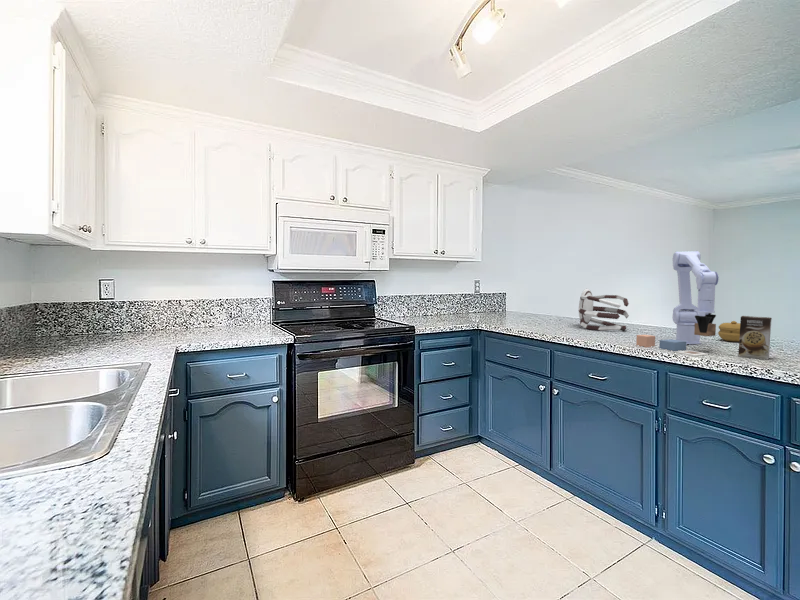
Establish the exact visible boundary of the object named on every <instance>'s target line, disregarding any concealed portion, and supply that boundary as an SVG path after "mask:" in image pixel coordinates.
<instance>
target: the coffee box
mask: <svg viewBox="0 0 800 600" xmlns="http://www.w3.org/2000/svg"><path fill="white" fill-rule="evenodd" d="M772 320H773V319H772V317H769V316H767V317H764V316H749V315H741V316H740V337H739V342H738V353H737V355H738V357H742V358H749V359H758V360H769V359H770V348H771V347H770V346H771V345H770V344H771V333H772V332H771V331H772V330H771V328H772Z"/></svg>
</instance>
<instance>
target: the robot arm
mask: <svg viewBox="0 0 800 600" xmlns="http://www.w3.org/2000/svg"><path fill="white" fill-rule="evenodd" d="M672 269H673V270H675V271H676V273H677V284H678V285H677V286H678V297H679V298H678V299H679V304H678V305H676V306H675V307H673V310H672V321H673V324H675V325H676V332H675V335H676V337H675V340H679V341H686V345H687V344H689V345H699V344H702V342H701V338H700V337H701V335H694V330H695V323H698V326H699V331H700V333H706V332H707V329H708V324H709V323H712V324H713V322H714V320H715V318H716V317H717V315H716V314H715V313H716V310H715V303H716V301H715V298H716V286H717V285H718V284H719V280H720V279H719V274H718V272H717V271H712V270H711V269H710V268H709V266H707V264H705V262H701V252H700V251H699V250H693V251H691V250H690V251H688V250H687V251H675V252H674V253H673V255H672ZM690 272H692V274H693V275H694V276H695V283H696V290H697V306H696V305H694V304H693V301H692V299H693V298H692V289H691V287H692V285H691V273H690Z"/></svg>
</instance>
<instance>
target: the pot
mask: <svg viewBox="0 0 800 600" xmlns="http://www.w3.org/2000/svg"><path fill="white" fill-rule="evenodd" d="M718 329H719V330H718V332H717V334H718V336H719V337H720V339H721V340H723V341H726V342H731V343H732V342H733V343H735V342H737V343H739V337H740V323H739V322H737V321H736V320H733V321H732V320H731V321H730V322H723V323H720V324H719V325H718Z"/></svg>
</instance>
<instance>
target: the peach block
mask: <svg viewBox="0 0 800 600" xmlns="http://www.w3.org/2000/svg"><path fill="white" fill-rule="evenodd" d="M635 342H636V344H635V345H639V346H638V347H641V346H644V347H643V348H652V347H651V346H655V347H656V335H652V334H637V335H636V341H635Z"/></svg>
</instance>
